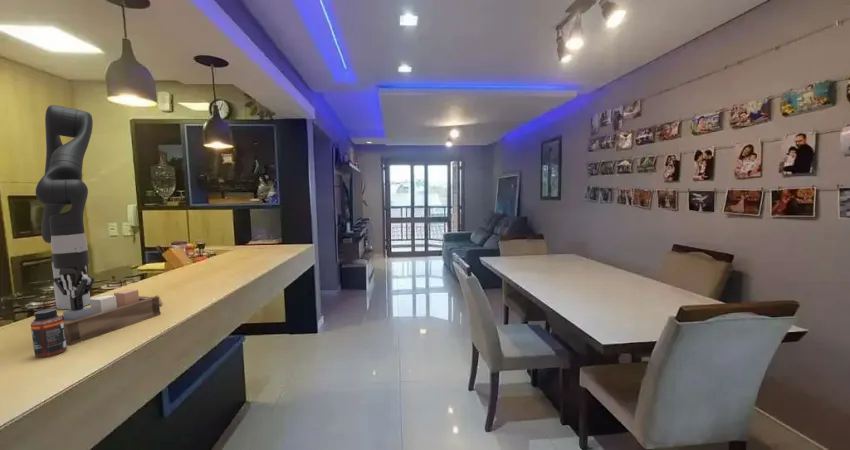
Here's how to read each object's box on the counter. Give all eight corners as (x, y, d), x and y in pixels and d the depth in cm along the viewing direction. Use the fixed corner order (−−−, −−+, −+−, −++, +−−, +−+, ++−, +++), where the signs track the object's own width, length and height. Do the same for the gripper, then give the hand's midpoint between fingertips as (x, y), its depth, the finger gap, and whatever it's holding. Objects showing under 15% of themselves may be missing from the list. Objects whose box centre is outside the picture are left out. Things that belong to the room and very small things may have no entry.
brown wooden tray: (40, 341, 107) (38, 321, 106) (133, 312, 132) (132, 295, 131) (71, 345, 104) (68, 324, 103) (160, 314, 129) (158, 297, 128)
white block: (91, 315, 116) (89, 299, 115) (107, 310, 120) (105, 295, 120) (102, 316, 115) (100, 299, 114) (117, 311, 119) (115, 295, 118)
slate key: (65, 328, 109) (62, 311, 109) (82, 323, 114) (80, 307, 113) (76, 329, 108) (73, 312, 108) (93, 324, 112) (91, 307, 112)
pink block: (115, 308, 123) (114, 293, 122) (129, 304, 127) (128, 289, 126) (126, 309, 121) (124, 293, 121) (139, 304, 126) (138, 289, 125)
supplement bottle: (73, 348, 102) (68, 306, 100) (51, 358, 96) (45, 314, 95) (51, 348, 102) (46, 307, 101) (27, 358, 96) (21, 314, 95)
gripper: (37, 252, 107) (45, 312, 109) (71, 252, 103) (79, 315, 105) (69, 248, 114) (76, 304, 116) (101, 248, 111) (108, 306, 112)
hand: (77, 309), depth 110 cm, fingers closed
